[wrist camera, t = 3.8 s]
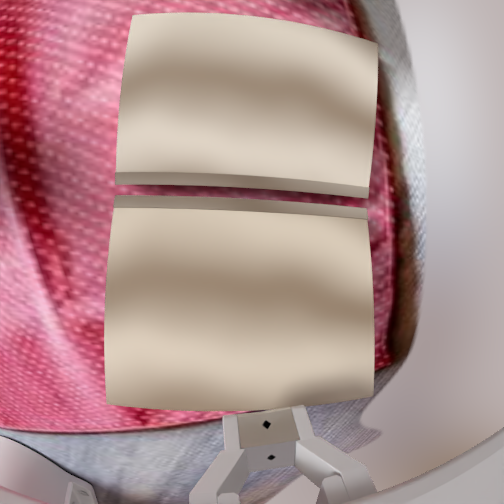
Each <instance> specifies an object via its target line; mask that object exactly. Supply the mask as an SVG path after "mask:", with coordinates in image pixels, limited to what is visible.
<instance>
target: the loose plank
mask: <svg viewBox="0 0 504 504" xmlns="http://www.w3.org/2000/svg"><path fill="white" fill-rule="evenodd" d="M113 207H114V211H113V218H112V226H111V234H110V243H109V253H108V264H107V277H106V294H105V324H104V355H105V384H106V400H107V404H111V405H119V406H128V407H138V408H149V409H163V410H182V411H250V410H269V409H280V408H286V407H293V406H299V405H304V406H314V405H322V404H329V403H337V402H343V401H350V400H356V399H361V398H367V397H372V396H373V390H374V299H373V280H372V265H371V252H370V241H369V231H368V222H367V219H368V214H367V208H359V207H349V206H338V205H327V204H315V203H302V202H289V201H274V200H258V199H240V198H218V197H191V196H141V195H116V196H115V199H114V206H113Z"/></svg>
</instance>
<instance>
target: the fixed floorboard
mask: <svg viewBox="0 0 504 504" xmlns="http://www.w3.org/2000/svg"><path fill="white" fill-rule="evenodd" d="M377 84H378V44H377V43H374V42H371V41H368V40H365V39H362V38H358V37H355V36H351V35H348V34H344V33H340V32H337V31H333V30H329V29H324V28H320V27H316V26H311V25H306V24H301V23H296V22H290V21H284V20H278V19H271V18H263V17H255V16H246V15H234V14H219V13H156V14H141V15H133V16H132V21H131V26H130V32H129V37H128V43H127V49H126V55H125V62H124V69H123V77H122V86H121V95H120V105H119V117H118V132H117V152H116V172H115V185H120V184H146V185H196V186H222V187H241V188H258V189H273V190H286V191H299V192H310V193H321V194H331V195H341V196H350V197H359V198H367V199H368V195H369V181H370V173H371V164H372V154H373V144H374V133H375V120H376V105H377Z"/></svg>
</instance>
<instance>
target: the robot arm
mask: <svg viewBox="0 0 504 504" xmlns="http://www.w3.org/2000/svg"><path fill="white" fill-rule="evenodd" d="M223 432H224V445H225V450H223V451H220V453H219V454H218V456H217V457H216V458H215V460H214V461H213V462H212V464H211V465H210V467H209V468H208V469H207V471H206V472H205V473H204V475H203V476H202V477H201V479H200V480H199V481H198V483H197V484H196V485H195V487H194V488H193V489H192V491H191V492H190V493H189V504H241V502H240V498H239V495H238V494H239V492H240V490H241V489H242V487H243V485H244V483H245V481H246V479H247V478H248V476H249V474H250V473H249V472H255V471H262V470H268V469H274V468H282V467H288V466H295V467H296V468H297V469H298V470H299V471H300V472H301V473H303V474H304V475H305V476H306V477H307V478H308V479H310V480H311V481H312V482H313V483H314V484H315V485H317V486H318V487H319V488H320V492H319V495H318V499H317V502H316V504H504V427H503V428H502V429H501V430H499V431H498V432H496V433H495V434H493V435H492V436H490V437H489V438H487V439H485V440H484V441H482V442H481V443H479V444H477V445H476V446H474V447H473V448H471V449H469V450H468V451H466V452H464V453H462V454H461V455H459V456H457V457H455V458H453V459H451V460H450V461H448V462H446V463H444V464H442V465H440V466H438V467H436V468H434V469H432V470H430V471H428V472H426V473H423V474H421V475H419V476H417V477H415V478H412V479H410V480H408V481H405V482H403V483H401V484H398V485H395V486H393V487H391V488H388V489H385V490H382V491H380V492H377V490H376V488H375V485H374V483H373V481H372V479H371V476H370V474H369V472H368V470H367V468H366V466H365V465H364V464H362V463H360V462H359V461H357V460H355V459H354V458H352V457H351V456H349V455H347V454H346V453H344V452H343V451H341V450H340V449H338V448H337V447H335V446H334V445H332V444H330V443H329V442H327V441H326V440H324V439H323V438H322V437H320V436H318V437H316V436H315V433H314V431H313V428H312V425H311V422H310V419H309V416H308V413H307V411H306V408H305V406H304V405H299V406H293V407H286V408H280V409H274V410H268V411H263V412H256V413H246V414H235V415H223ZM0 504H98V502H97V499H96V496H95V493H94V490H93V487H92V485H90V484H89V483H87V482H85V481H83V480H81V479H79V478H77V477H75V476H73V475H70V474H69V473H67V472H65V471H64V470H62V469H61V468H59V467H58V466H57V465H55V464H54V463H52V462H51V461H49V460H48V459H46V458H44V457H43V456H41V455H39V454H38V453H36V452H34V451H32V450H31V449H29V448H27V447H25V446H23V445H21V444H19V443H17V442H15V441H12V440H10V439H8V438H5V437H2V436H0Z"/></svg>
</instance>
